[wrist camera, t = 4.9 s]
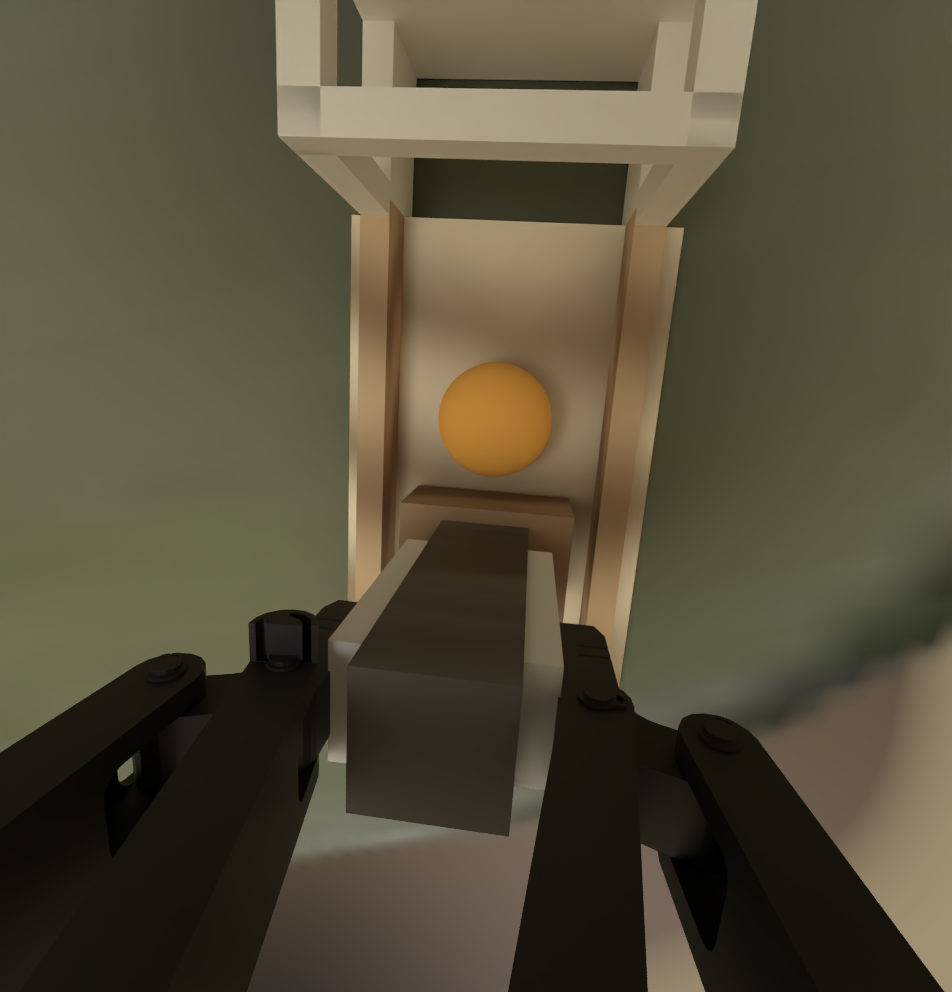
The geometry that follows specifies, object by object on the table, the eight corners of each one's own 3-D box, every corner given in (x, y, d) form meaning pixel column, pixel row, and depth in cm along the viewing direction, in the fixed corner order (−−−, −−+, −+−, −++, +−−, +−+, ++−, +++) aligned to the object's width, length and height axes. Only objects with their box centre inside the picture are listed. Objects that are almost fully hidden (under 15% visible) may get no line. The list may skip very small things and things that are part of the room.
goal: (391, 46, 19) (270, -233, 10) (671, 48, 18) (798, -255, 9) (386, 238, 21) (278, 136, 12) (645, 250, 20) (735, 147, 11)
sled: (418, 485, 21) (262, 629, 9) (568, 498, 21) (618, 670, 8) (414, 578, 22) (268, 824, 10) (558, 593, 21) (590, 872, 9)
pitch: (361, 224, 21) (331, 196, 17) (675, 236, 19) (701, 210, 16) (355, 659, 25) (330, 699, 22) (612, 690, 24) (624, 736, 21)
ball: (450, 360, 20) (431, 356, 16) (555, 367, 20) (560, 364, 16) (445, 462, 21) (425, 481, 17) (545, 470, 21) (548, 492, 17)
